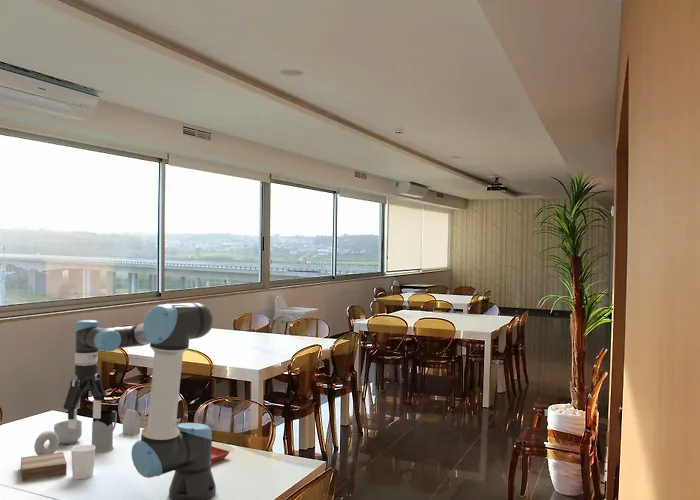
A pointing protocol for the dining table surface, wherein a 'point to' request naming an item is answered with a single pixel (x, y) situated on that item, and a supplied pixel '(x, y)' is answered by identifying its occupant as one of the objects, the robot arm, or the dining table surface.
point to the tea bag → (131, 422)
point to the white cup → (83, 461)
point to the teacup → (68, 432)
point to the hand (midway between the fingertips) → (84, 423)
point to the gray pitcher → (103, 431)
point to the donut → (42, 439)
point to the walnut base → (43, 466)
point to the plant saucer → (218, 454)
